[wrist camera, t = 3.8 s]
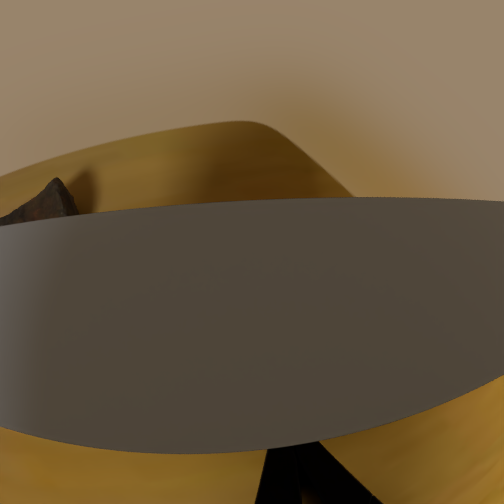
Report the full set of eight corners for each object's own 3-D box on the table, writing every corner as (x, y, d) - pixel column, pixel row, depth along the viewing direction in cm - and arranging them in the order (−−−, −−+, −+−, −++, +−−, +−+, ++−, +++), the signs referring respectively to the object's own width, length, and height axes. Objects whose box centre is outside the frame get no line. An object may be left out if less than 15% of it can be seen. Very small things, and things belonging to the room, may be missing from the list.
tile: (352, 382, 15) (601, 305, 2) (164, 401, 14) (-77, 394, 1) (346, 342, 16) (562, 194, 3) (161, 359, 15) (-50, 216, 2)
